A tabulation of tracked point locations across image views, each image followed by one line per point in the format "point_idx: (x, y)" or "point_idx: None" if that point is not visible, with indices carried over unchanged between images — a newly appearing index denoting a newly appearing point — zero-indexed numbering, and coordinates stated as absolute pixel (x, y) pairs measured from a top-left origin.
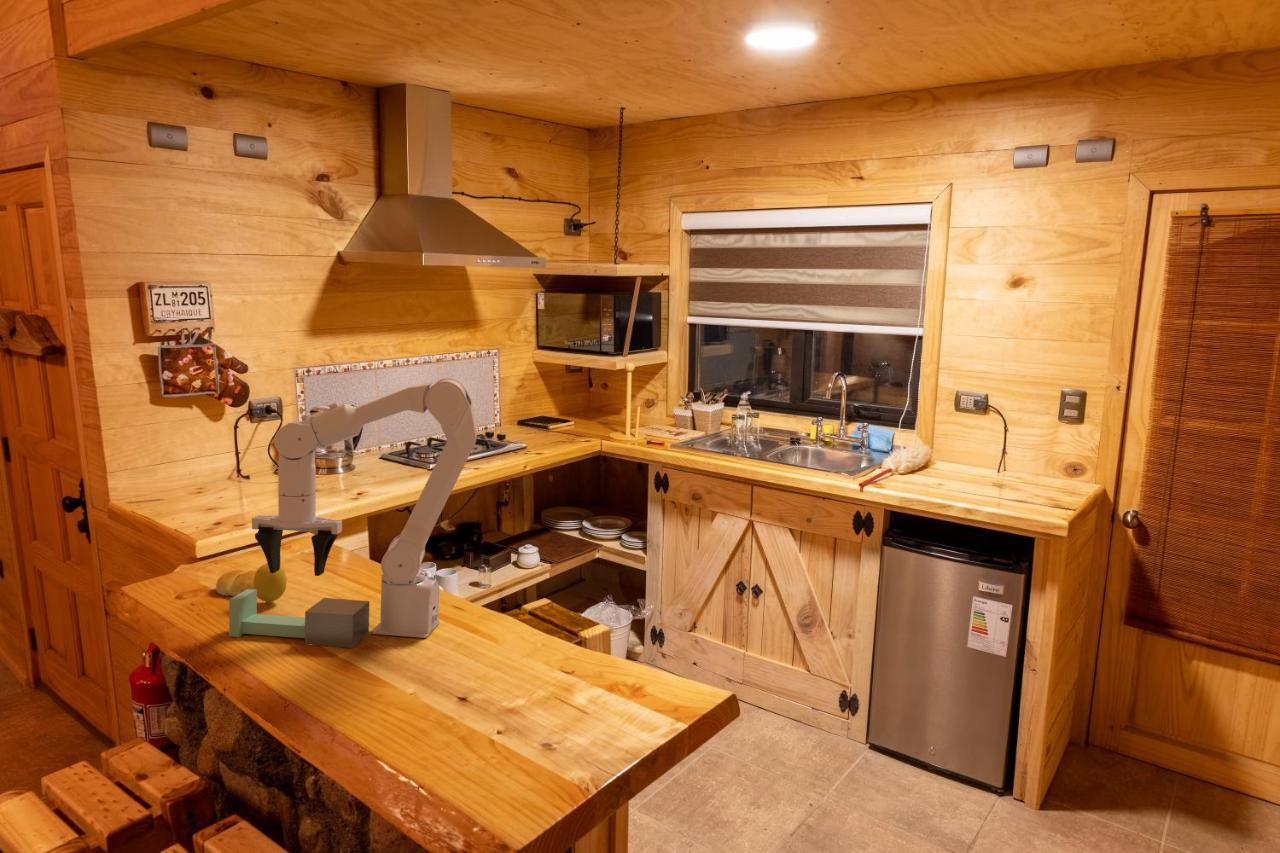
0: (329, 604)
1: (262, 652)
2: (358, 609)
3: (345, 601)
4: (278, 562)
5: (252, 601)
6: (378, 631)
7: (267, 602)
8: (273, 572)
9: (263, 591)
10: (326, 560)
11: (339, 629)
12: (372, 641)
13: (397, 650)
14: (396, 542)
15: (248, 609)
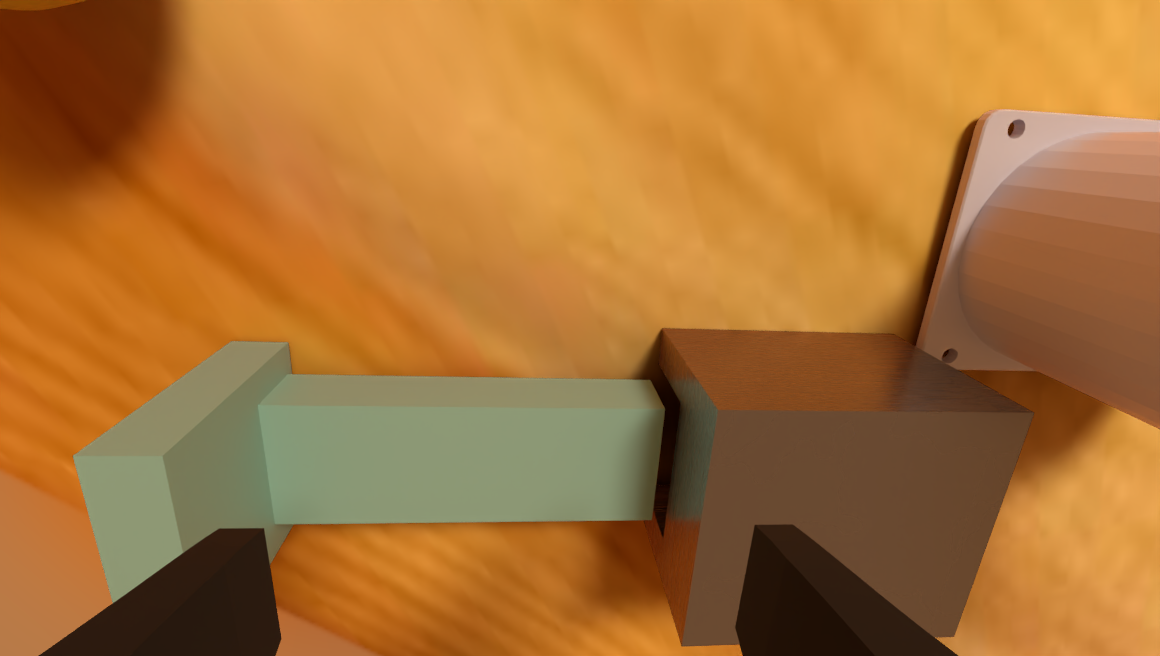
0: (789, 520)
1: (503, 607)
2: (976, 558)
3: (879, 449)
4: (211, 626)
5: (215, 469)
6: (954, 362)
7: None
8: (275, 648)
9: (16, 9)
10: (902, 617)
11: None
12: None
13: (1029, 496)
14: None
15: (243, 493)
